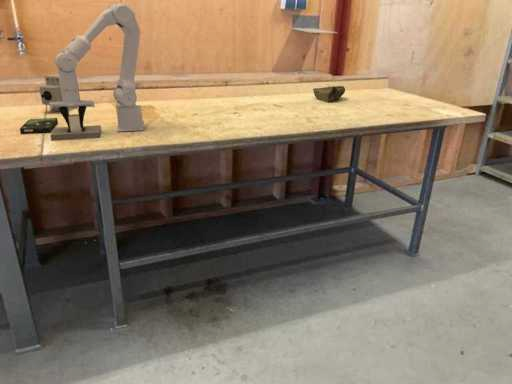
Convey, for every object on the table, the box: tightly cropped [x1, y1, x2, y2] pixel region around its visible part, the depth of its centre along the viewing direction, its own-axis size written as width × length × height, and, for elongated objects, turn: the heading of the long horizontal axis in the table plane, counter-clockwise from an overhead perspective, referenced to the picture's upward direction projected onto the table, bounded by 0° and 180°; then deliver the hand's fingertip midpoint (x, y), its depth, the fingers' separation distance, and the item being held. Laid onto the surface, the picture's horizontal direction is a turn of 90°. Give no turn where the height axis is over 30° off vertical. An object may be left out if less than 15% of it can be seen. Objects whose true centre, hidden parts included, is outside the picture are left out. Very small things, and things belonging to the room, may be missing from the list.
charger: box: [68, 113, 82, 132], centre depth 149 cm, size 3×3×6 cm
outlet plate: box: [50, 124, 102, 142], centre depth 151 cm, size 16×10×2 cm, turn 106°
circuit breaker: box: [38, 73, 78, 112], centre depth 182 cm, size 8×14×15 cm, turn 166°
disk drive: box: [19, 117, 59, 135], centre depth 159 cm, size 10×3×15 cm
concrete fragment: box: [312, 85, 346, 103], centre depth 218 cm, size 15×10×15 cm
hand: (76, 127), depth 150 cm, fingers closed on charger, 3 cm apart
